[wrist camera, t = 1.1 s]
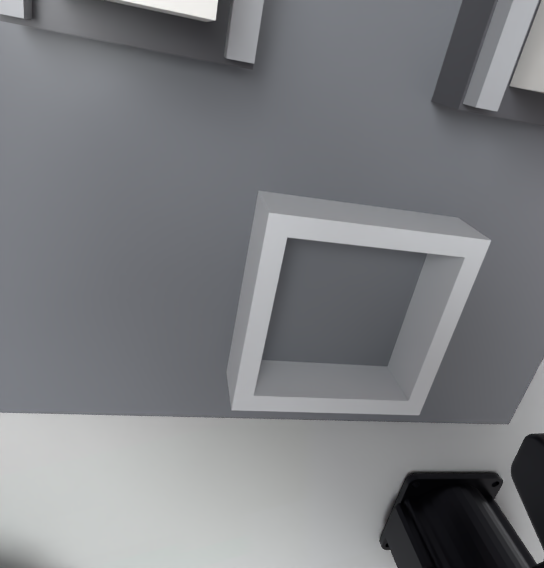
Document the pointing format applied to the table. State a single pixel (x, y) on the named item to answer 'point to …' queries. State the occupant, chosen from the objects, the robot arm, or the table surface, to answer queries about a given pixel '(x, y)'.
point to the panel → (270, 210)
